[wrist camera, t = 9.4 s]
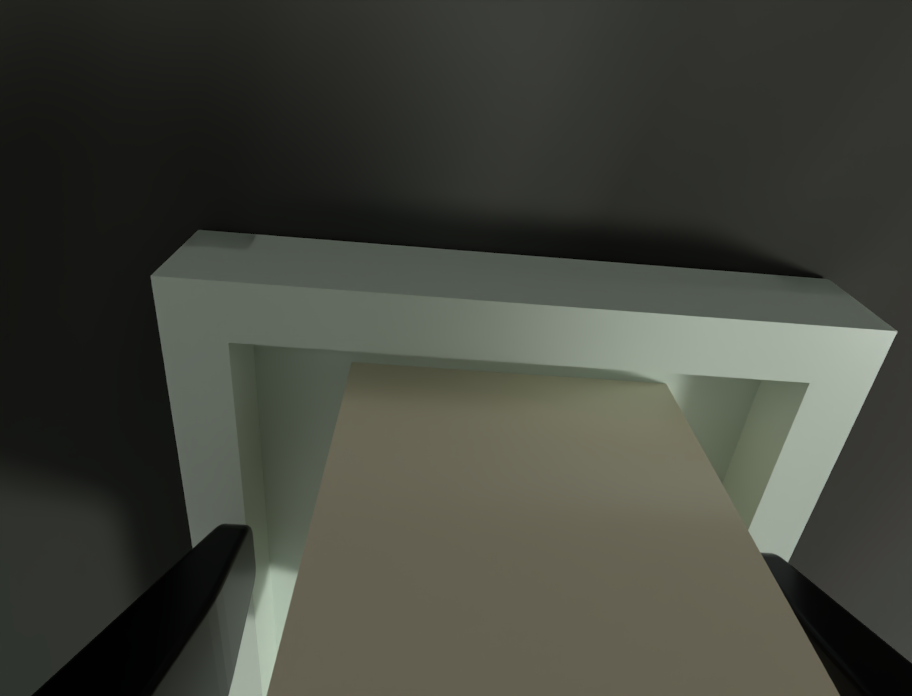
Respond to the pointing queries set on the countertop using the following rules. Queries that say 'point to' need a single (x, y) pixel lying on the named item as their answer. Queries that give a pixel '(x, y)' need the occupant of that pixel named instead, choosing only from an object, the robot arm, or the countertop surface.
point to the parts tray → (486, 349)
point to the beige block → (530, 550)
